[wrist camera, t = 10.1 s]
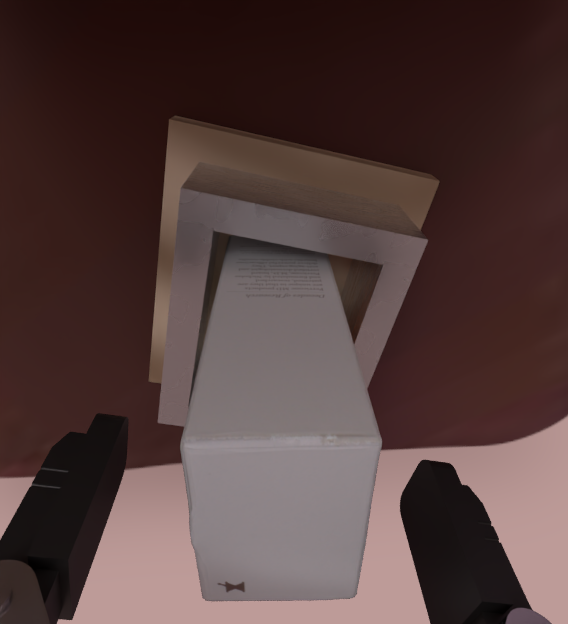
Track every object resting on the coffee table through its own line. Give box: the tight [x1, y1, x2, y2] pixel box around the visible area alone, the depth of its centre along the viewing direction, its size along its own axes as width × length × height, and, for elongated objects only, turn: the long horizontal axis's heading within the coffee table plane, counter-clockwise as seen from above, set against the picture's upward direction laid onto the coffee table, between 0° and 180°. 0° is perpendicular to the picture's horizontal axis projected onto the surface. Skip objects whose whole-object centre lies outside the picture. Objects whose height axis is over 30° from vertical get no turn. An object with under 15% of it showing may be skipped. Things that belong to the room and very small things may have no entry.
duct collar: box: [158, 162, 428, 426], centre depth 18 cm, size 10×8×4 cm
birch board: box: [149, 116, 440, 383], centre depth 21 cm, size 13×11×1 cm
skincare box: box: [180, 235, 382, 601], centre depth 15 cm, size 6×4×12 cm
